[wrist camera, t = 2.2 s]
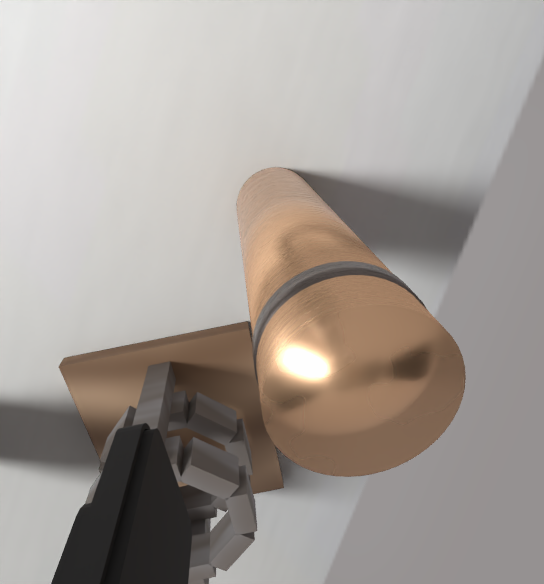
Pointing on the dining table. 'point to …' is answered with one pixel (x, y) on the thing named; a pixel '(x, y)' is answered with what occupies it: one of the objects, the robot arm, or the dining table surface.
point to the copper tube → (338, 338)
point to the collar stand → (188, 427)
